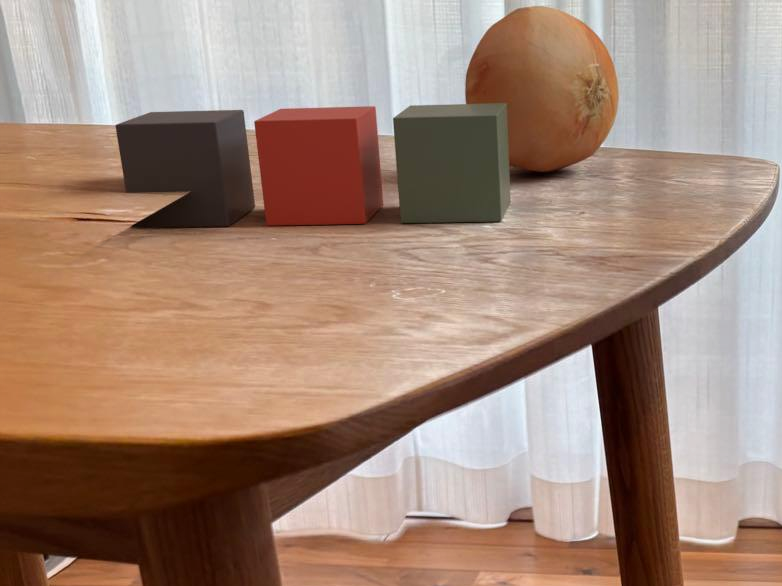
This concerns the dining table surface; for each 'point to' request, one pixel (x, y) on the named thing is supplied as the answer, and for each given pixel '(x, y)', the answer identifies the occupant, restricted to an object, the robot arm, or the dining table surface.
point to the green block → (452, 163)
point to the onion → (546, 86)
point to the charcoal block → (189, 165)
